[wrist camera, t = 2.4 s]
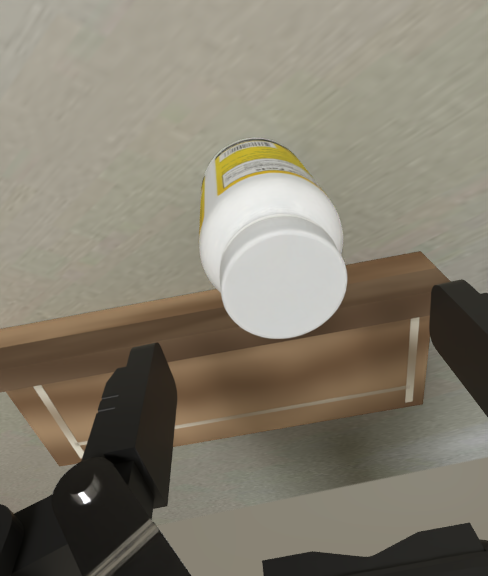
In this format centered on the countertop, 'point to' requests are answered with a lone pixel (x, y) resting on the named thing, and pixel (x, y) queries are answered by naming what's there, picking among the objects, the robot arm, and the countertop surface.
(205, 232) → the supplement bottle
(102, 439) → the robot arm
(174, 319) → the board
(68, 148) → the countertop surface
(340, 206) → the countertop surface
